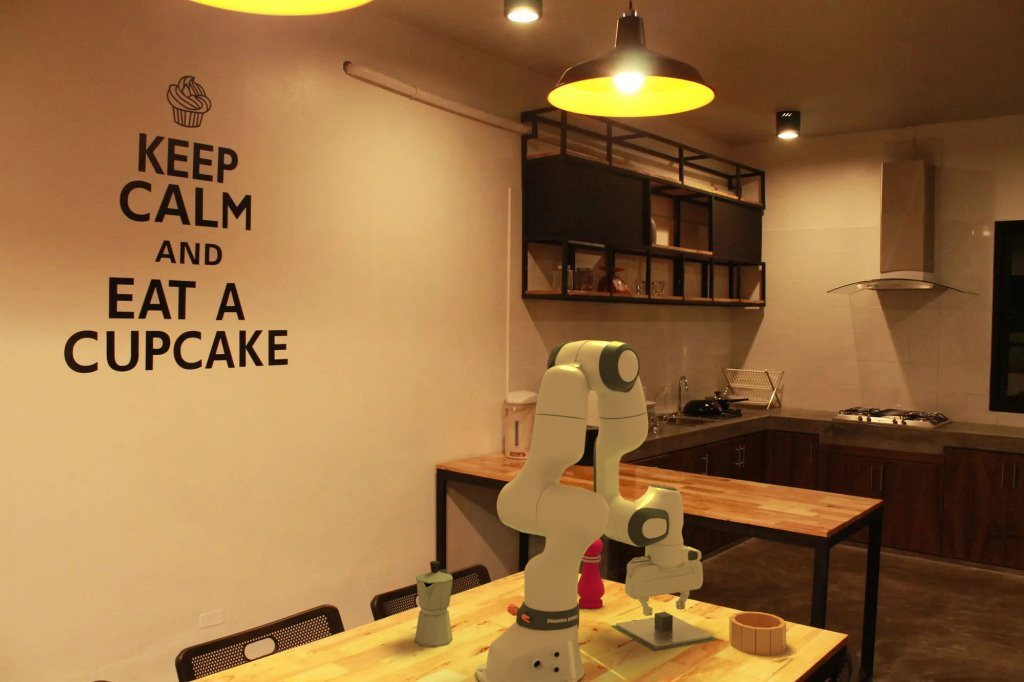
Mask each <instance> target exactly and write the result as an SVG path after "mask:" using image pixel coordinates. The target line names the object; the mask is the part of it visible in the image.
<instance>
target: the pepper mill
mask: <svg viewBox="0 0 1024 682" xmlns="http://www.w3.org/2000/svg"><path fill="white" fill-rule="evenodd" d="M603 547H604V545H603V541H602V539H601V537H600V538H599V539H598V540H596V541H595V542H593V543H592V544H591V545H590V546H589V547H588V549H587V550H586V552H585V553H584V555H583V557H582V560H581V562H583V563H582V572H581V575H580V578H578V590H577V596H579V597H580V598H578V604H579V609H581V610H585V609H587V610H597V609H601V608H603V605H604V603H603V602H604V601H603V599H602V597H604V595H605V592H606V591H605V584H604V581H603V579H602V577H601V574H600V567H599V565H600V561H601V560H602V559H601V557H602V555H601V552H602V551H603Z"/></svg>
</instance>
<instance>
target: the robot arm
mask: <svg viewBox="0 0 1024 682" xmlns="http://www.w3.org/2000/svg"><path fill="white" fill-rule="evenodd" d="M640 364H641V363H640V359H639V356H638V354H637V352H636V351H635V349H634V348H633V346H631V344H628V343H626V342H622V341H618V340H613V341H605V340H595V339H587V340H578V341H577V340H576V341H565V342H562V343H559V344H557V345H555V347H554V348H552V350H551V352H550V353H549V356H548V358H547V364H546V365H547V366H546V368H547V370H546V371H545V372H544V374H543V377H542V378H541V379H542V380H541V383H540V387H539V391H538V395H537V400H536V406H535V414H534V422H533V430H532V435H531V436H532V437H531V441H530V448H529V452H528V455H527V458H526V459H525V463H524V464H523V466H522V467H521V469H520V471H519V473H517V475H516V476H515V477H514V478H513V479H512V480H510V481H509V482H508V483H506V484H505V485H504V486H503V487H502V489H501V490H500V492H499V494H498V496H497V501H496V512H497V515H498V519H499V520H500V522H501V523H502V524H504V525H505V526H506V527H509V528H510V529H513V530H515V531H518V532H521V533H524V534H531V535H535V536H536V535H537V536H540V537H545V546H544V550H543V552H541V553H539V554H537V555H534V557H532V558H531V559H530V560H528V562H527V564H525V568H524V574H523V575H524V582H523V583H524V588H523V589H524V590H523V595H524V596H523V599H524V600H523V601H522V604H521V606H520V607H518V606H516V604H514V603H510V604H509V605H508V606H507V609H506V611H507V613H509V615H511V616H513V617H516V618H515V621H514V623H512V624H511V625H510V626H509V627H508V628H507V629H506V630H504V631H503V632H502V633H501V634H500V635H499V636H498V637H497V638H495V639H494V640H493V641H492V642H491V643H490V646H489V648H488V652H487V659H486V663H483V664H479V665H477V666H476V668H475V669H476V670H475V677H476V678H477V679H478V681H479V682H578V681H579V680H581V679H582V678H583V677H584V675H585V668H584V665H583V660H582V656H581V650H580V642H579V631H578V630H579V627H580V608H579V601H578V593H577V590H578V582H579V572H580V567H581V562H582V557H583V555H584V553H585V552H586V550H587V549H588V547H589V546H590V545H591V544H592V543H593V542H595V541H596V540H598V539H599V538H600V539H601V538H603V539H607V540H614V541H616V542H621V543H623V544H627V545H631V546H634V547H638V548H643V547H645V551H644V552H645V553H644V556H639V557H633V558H632V559H631V560H630V561H629V562H628V563H627V564H626V577H625V585H624V592H625V594H626V595H627V596H628V597H629V598H630V599H633V600H638V601H639V603H640V604H641V607H642V614H643V615H644V616H645V617H648V616H652V615H653V607H651V606H649V604H648V602H649V601H650V600H649V599H650V598H651V597H652V598H653V597H658V596H659V597H660V596H665V595H670V594H675V593H680V595H679V598H678V599H677V600H675V609H677V610H679V611H681V610H685V609H686V602H687V600H688V599H689V598H688V597H689V596H690V591H693V590H698V589H699V590H700V589H701V587H702V586H703V583H704V574H703V572H704V571H703V564H702V562H701V561H700V560H701V559H702V552H701V551H700V550H699V549H696V548H693V547H691V546H688V545H686V544H684V538H683V534H682V533H683V532H682V531H683V527H684V526H683V525H684V503H683V499H682V494H681V492H680V491H679V490H678V489H677V488H675V487H673V486H672V487H671V486H668V485H662V484H651V485H650V484H649V486H648V487H647V490H646V491H645V492H644V494H643V495H642V496H640V497H639V498H638V499H636V500H634V501H632V500H627V499H624V498H623V497H622V495H621V493H620V460H621V459H622V457H623V456H624V455H625V454H627V453H631V452H632V451H635V450H636V449H638V448H639V447H640V446H641V445H642V444H644V442H645V441H646V439H647V437H648V433H649V419H648V418H649V417H648V410H647V403H646V397H645V392H644V390H643V389H644V388H643V385H642V381H641V378H640V375H639V374H640V368H641V367H640ZM590 392H595V393H596V399H597V400H596V403H597V416H598V435H597V436H596V438H595V441H594V444H593V490H590V489H587V488H584V487H580V486H573V485H568V484H567V485H566V484H560V481H561V478H562V476H563V474H564V472H565V471H566V469H568V468H569V467H571V466H573V465H575V464H577V463H578V462H579V461H580V460H581V459H582V458H583V455H584V453H585V446H586V438H587V437H586V436H587V434H586V433H587V426H588V415H589V414H588V413H589V411H588V410H589V394H590Z"/></svg>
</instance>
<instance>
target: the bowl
mask: <svg viewBox="0 0 1024 682" xmlns="http://www.w3.org/2000/svg"><path fill="white" fill-rule="evenodd" d="M728 620H729V623H728V624H729V626H728V630H729V632H728V633H729V635H728V637H729V639H728V642H729V644H730V646H731V647H733V648H735V649H736V650H739V651H741V652H744V653H749V654H752V655H765V656H766V655H767V656H769V655H777V654H781V653H783V652H784V651H785V650H786V649H787V622H786V621H785V620H784V618H781V617H780V616H777V615H775V614H772V613H765V612H762V611H761V612H759V611H739V612H734V613H733V614H731V615H730V616H729V619H728Z"/></svg>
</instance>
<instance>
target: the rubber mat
mask: <svg viewBox="0 0 1024 682" xmlns="http://www.w3.org/2000/svg"><path fill="white" fill-rule="evenodd" d="M610 627H611V628H613V629H615V631H618V632H620V633H621V634H623V635H625V636H627V637H628V638H630V639H632V640H633V641H635V642H637V643H639V644H641V645H642V646H644V647H646V648H647V649H649V650H651V651H653V652H658V651H663V650H669V649H675V648H681V647H686V646H691V645H693V646H694V645H697V644H702V643H709V642H714V641H719V639H718V638H717V637H715V636H713V639H709V640H703V641H698V642H692V643H686V644H681V645H675V646H669V647H664V648H658V649H654V648H652V647H651V646H649V645H647V644H645V643H644V642H642V641H640V640H638V639H637V638H635V637H633V636H631V635H630V634H628V633H626V632H624V631H623V630H621V629H619V628H617V627H616V624H614V625H610Z"/></svg>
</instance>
